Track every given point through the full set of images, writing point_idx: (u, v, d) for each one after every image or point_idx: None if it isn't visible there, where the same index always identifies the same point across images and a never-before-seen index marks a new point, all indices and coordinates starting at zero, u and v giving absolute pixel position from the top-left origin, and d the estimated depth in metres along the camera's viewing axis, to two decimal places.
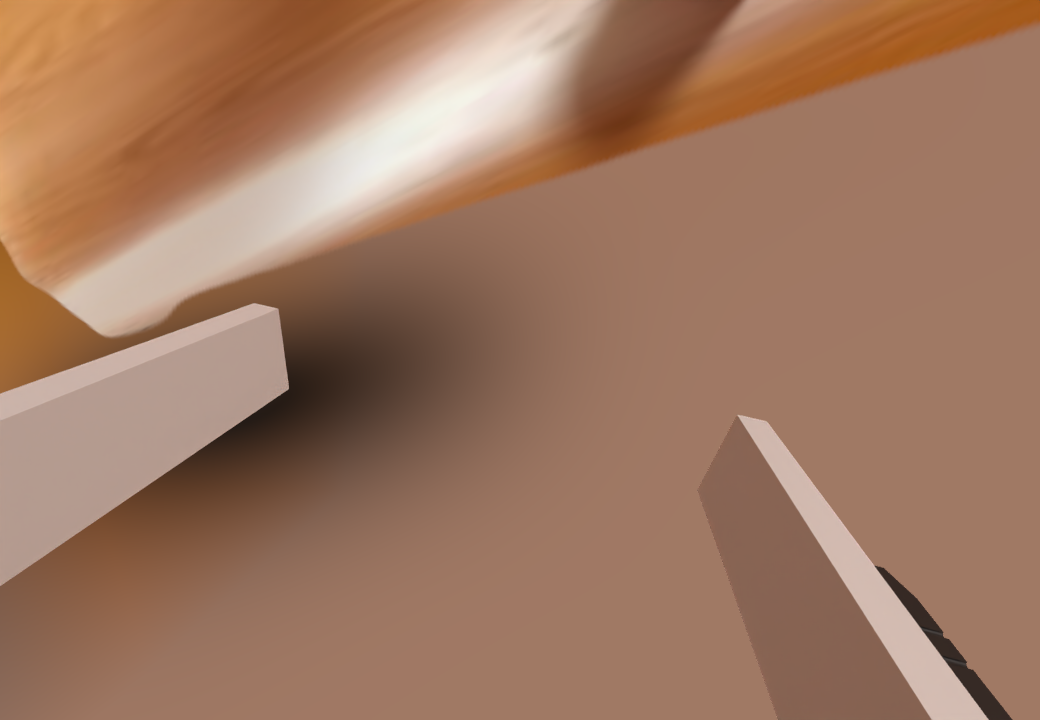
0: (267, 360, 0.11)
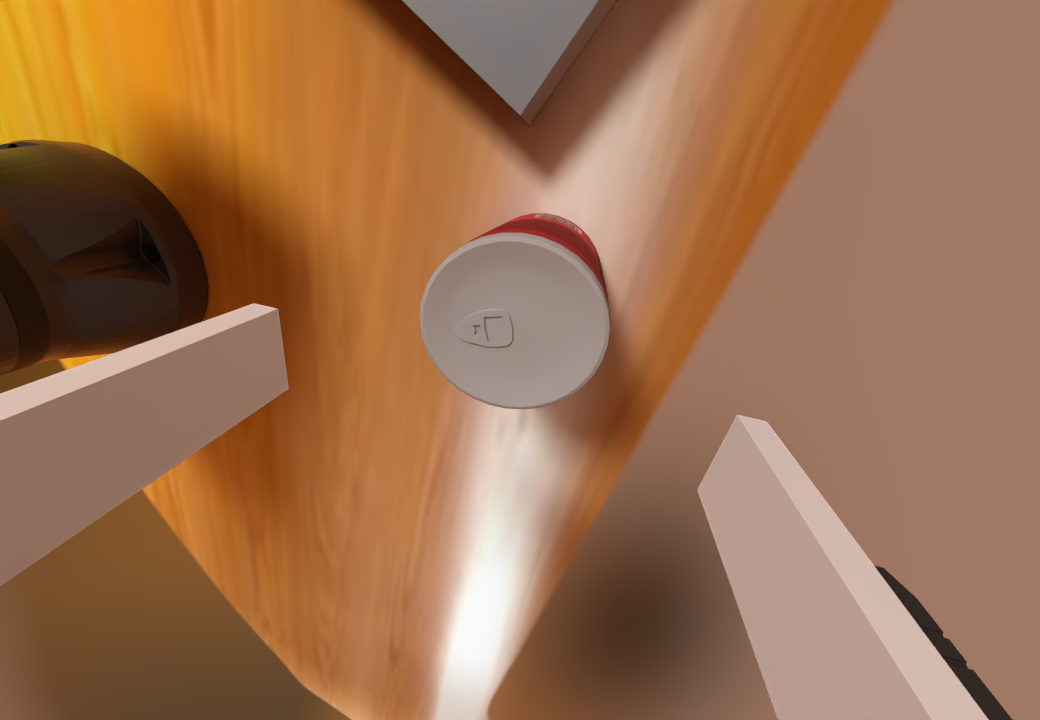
0: (267, 360, 0.11)
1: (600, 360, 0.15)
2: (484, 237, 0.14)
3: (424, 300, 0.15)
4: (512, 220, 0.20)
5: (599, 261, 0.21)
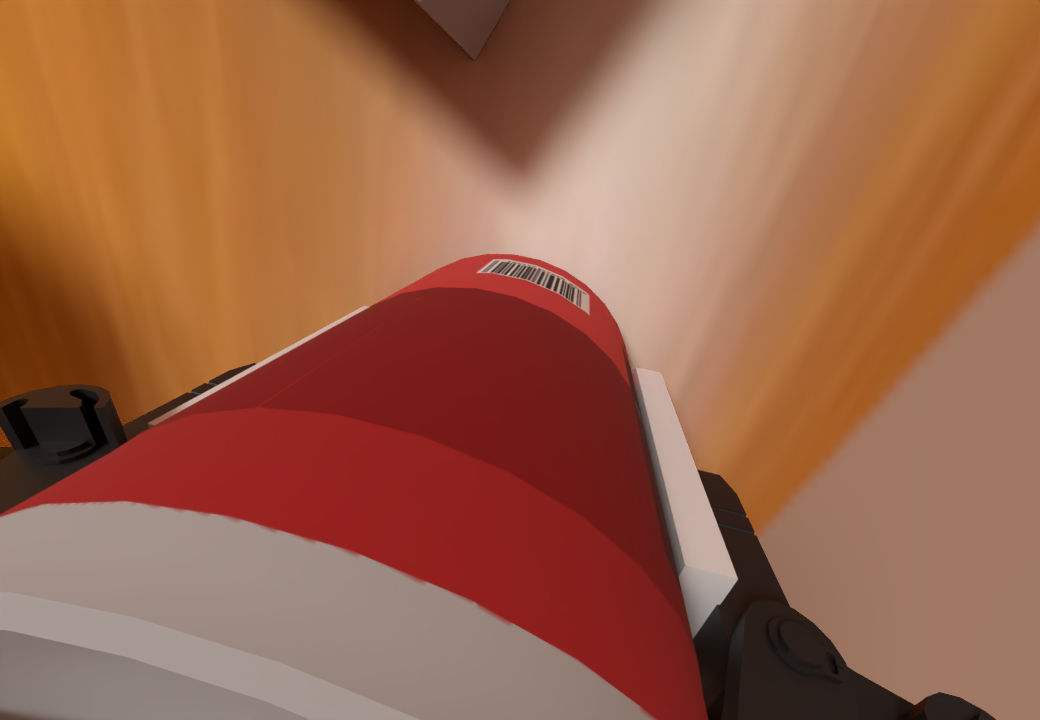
0: None
1: None
2: (27, 530, 0.02)
3: None
4: (423, 281, 0.08)
5: (628, 367, 0.09)
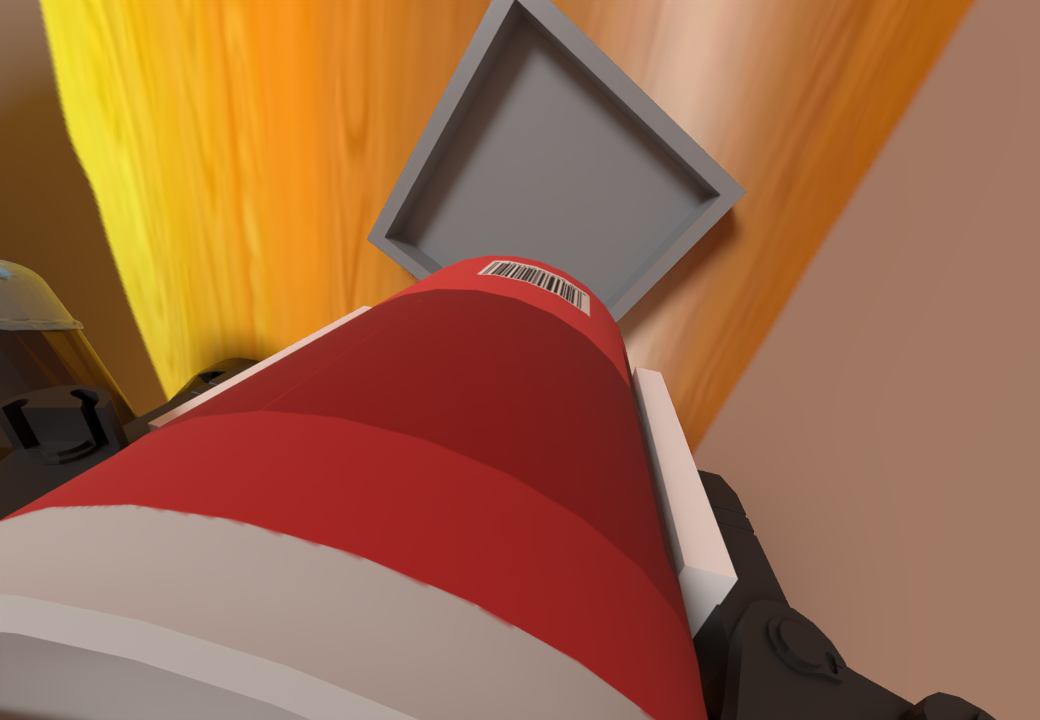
0: None
1: None
2: (33, 534, 0.02)
3: None
4: (424, 282, 0.08)
5: (629, 368, 0.09)
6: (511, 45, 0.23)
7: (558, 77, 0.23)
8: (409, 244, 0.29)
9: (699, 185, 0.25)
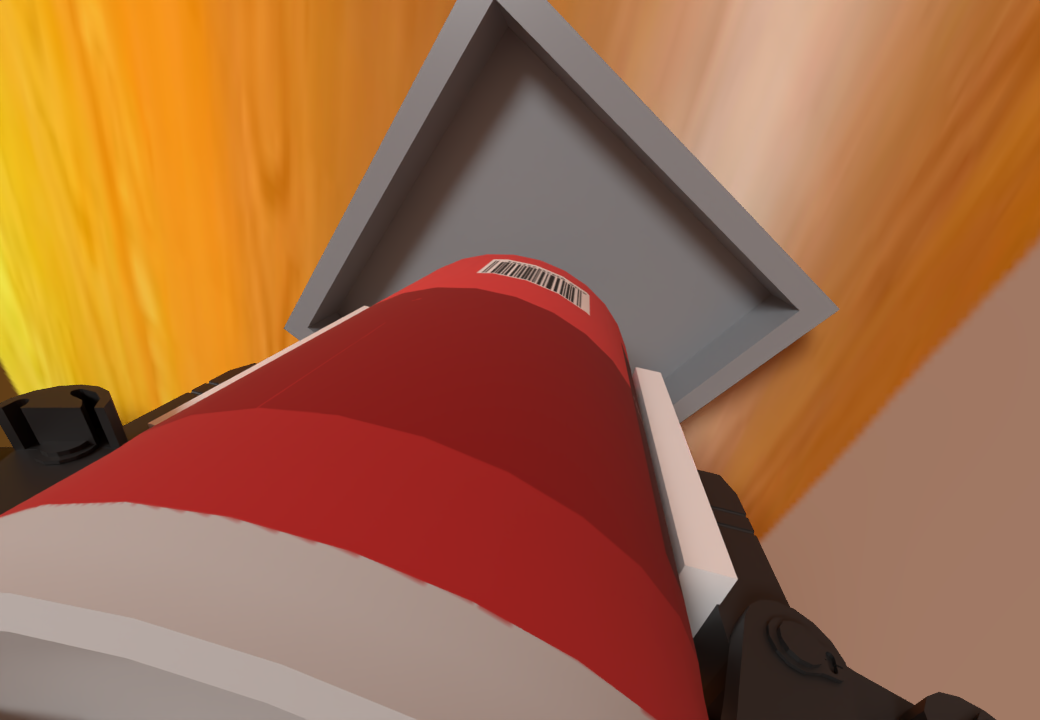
0: None
1: None
2: (26, 530, 0.02)
3: None
4: (424, 281, 0.08)
5: (629, 367, 0.09)
6: (491, 69, 0.15)
7: (560, 119, 0.16)
8: None
9: (759, 282, 0.17)
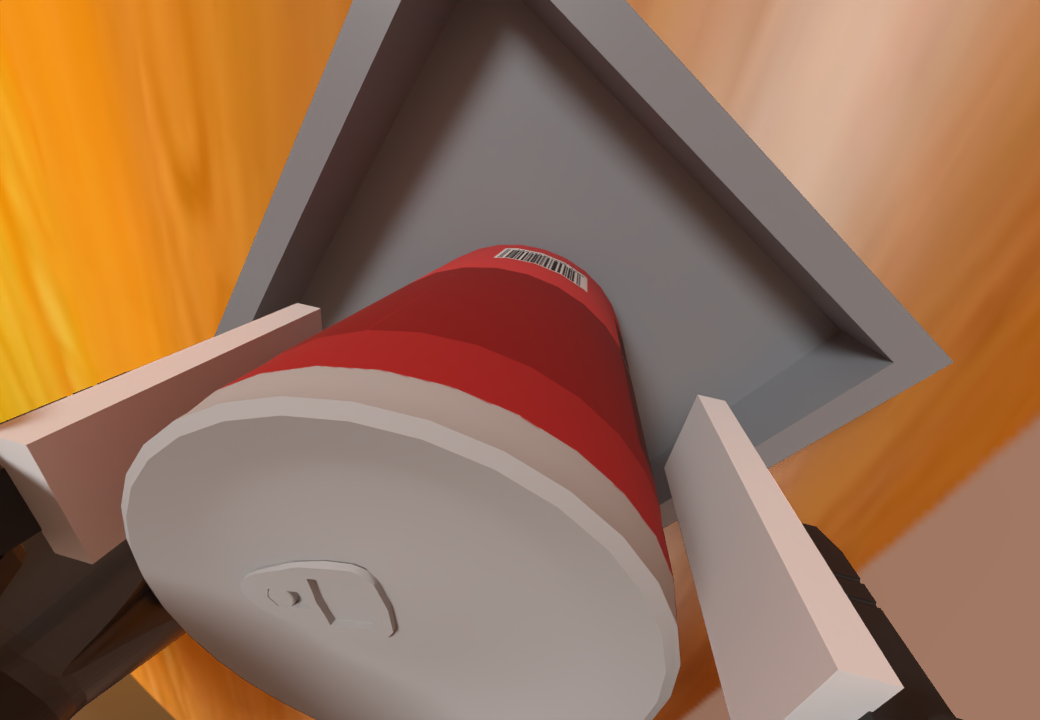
0: None
1: None
2: (259, 383, 0.04)
3: (128, 537, 0.05)
4: (450, 264, 0.10)
5: (620, 338, 0.11)
6: (458, 21, 0.11)
7: (555, 93, 0.11)
8: None
9: (824, 315, 0.13)
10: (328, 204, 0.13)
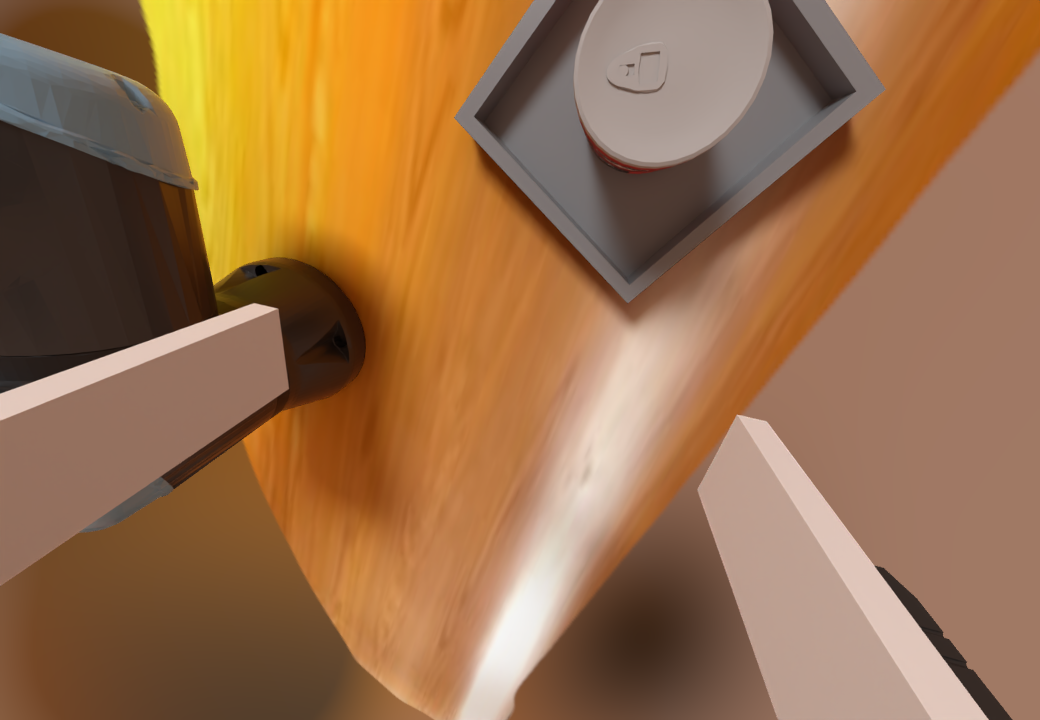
0: (267, 360, 0.11)
1: (753, 98, 0.16)
2: None
3: (585, 30, 0.16)
4: None
5: None
6: None
7: None
8: (494, 134, 0.27)
9: (823, 89, 0.23)
10: (558, 7, 0.23)
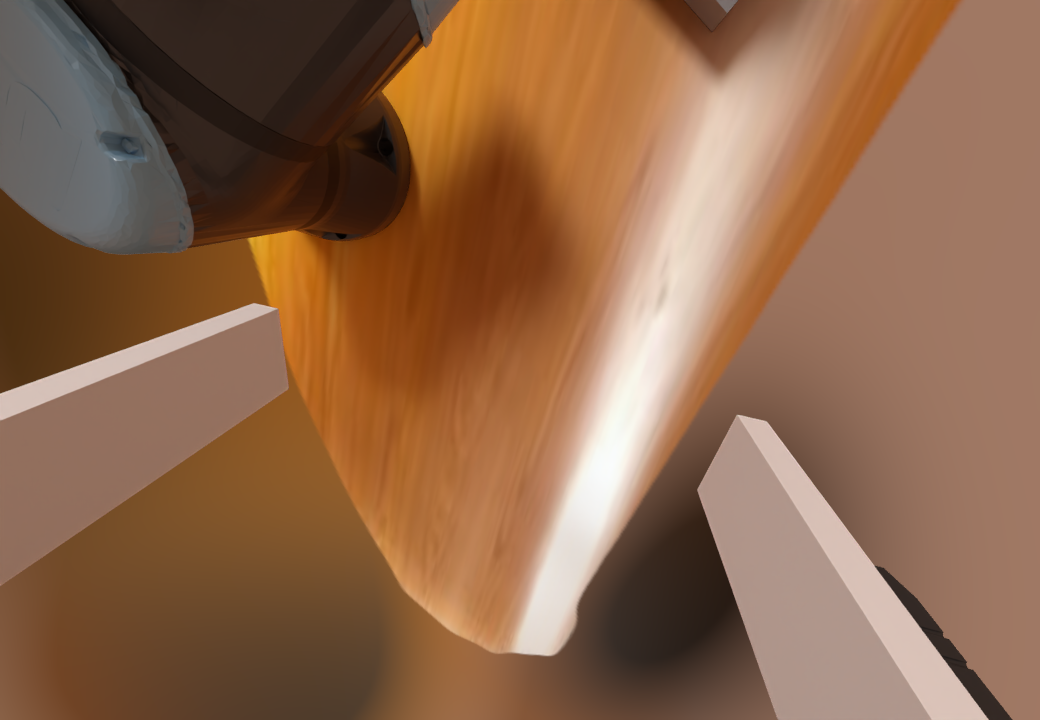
0: (267, 360, 0.11)
1: None
2: None
3: None
4: None
5: None
6: None
7: None
8: None
9: None
10: None
